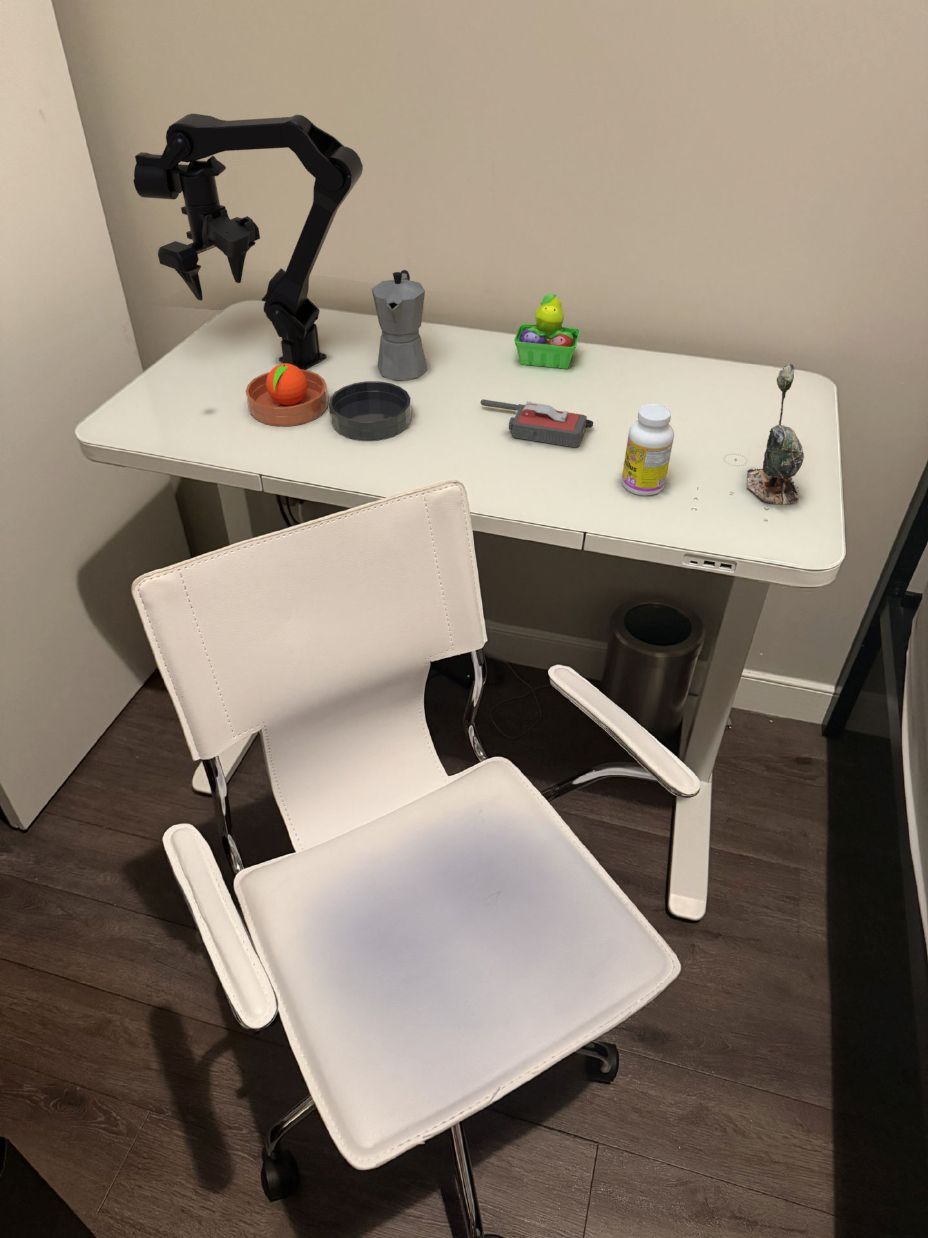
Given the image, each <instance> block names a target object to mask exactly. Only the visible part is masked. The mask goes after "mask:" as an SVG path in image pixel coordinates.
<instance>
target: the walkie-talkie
mask: <svg viewBox="0 0 928 1238" xmlns="http://www.w3.org/2000/svg"><path fill="white" fill-rule="evenodd" d="M479 403H480V405H481V406H484V407H490V408H497V409H502V410H509V411H514V412H515V416H514V417H512V416H511V417H510V418H509V422H508V430H509V431H511V437H512V438H516V439H522V440H528V441H534V442H539V443H546V444H552V445H558V446H563V447H570V448H576V447H580V444H581V442H582V439H583V437H584V436H585V435H584V434H585V433H586V429H591V428H593V427H594V421H593V420H591V419H588V416H587V415H585V414H581V413H574V412H569V411H567V410H565V411H561V410H558V409H556V408H554V407H553V406H551V405H549V404H542V403H537V402H536V403H535V402H532V401H528V400H527V401H526V402H525V404H521V403H519V404H515V403H510V402H509V403H508V402H503V401H496V400H491V399H481V400H480V402H479Z"/></svg>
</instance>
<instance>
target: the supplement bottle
mask: <svg viewBox="0 0 928 1238" xmlns="http://www.w3.org/2000/svg"><path fill="white" fill-rule="evenodd" d="M671 418H672V411H671V409H670V408H668V407H667V406H666V405H663V404H659V403H646V404H644V405H642V406H640V407H639V409H638V412H637V420H636V421H634V422H633V423H631V425H630V427H629V429H628V433H627V434H628V435H627V441H626V450H625V455H624V461H623V468H622V475H621V483H622V485H623V487H624V488H625V490H627V491H629V492H630V493H632V494H635V495H638V496H653V495H657V494H659V493H660V492H662V491H663V490H664V488H665V486H666V481H667V476H668V471H669V466H670V461H671V454H672V449H673V444H674V439H675V431H674V429H673V427H672V425H671V424H670V423H671Z"/></svg>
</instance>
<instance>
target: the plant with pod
mask: <svg viewBox="0 0 928 1238" xmlns="http://www.w3.org/2000/svg"><path fill="white" fill-rule="evenodd" d="M794 379H795V366H794V364H793V363H786V365H784V366H783V367H782V369H781V370H779V372H778V375H777V377H776V385H777V387H778V389H779V390H780V392H781V403H780V404H781V405H780V406H781V407H780V414H779V421H778V424H777V425H775V426H772V427H771V428H770V430H769V435H768V439H767V442H766V445H765V446H766V449H765V452H764V454H763V462H762V468H759V469H758V468H754V469H753V468H750V469H747V470H746V472H747V473H746V475H747V479H746V488H747V489H749V490H751V492H753V494H754V495H755V496H758V497H759V499H760V501H763V502H764V503H767V504H773V505H779V504H780V505H785V504H786V505H792V504H795V502H798V501H799V500H800V495H799V490H798V489H799V486H797V485H796V484H795V481H793V477H795V476H796V475H797V473H798V472H799V471H800V469H801V467H802V466H803V462H804V460H805V454H804V449H803V448H804V447H803V445H802V444H801V443H802V442H801V441H800V440H799V437H798V436H797V433H796V432H795V430H794V429H792V428H791V427H790V426H786V425H782V419H783V413H784V401H785V398H786V394H787V392H788V391H789V390H790V389H791V387H792V384H793V382H794Z"/></svg>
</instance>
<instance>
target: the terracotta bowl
mask: <svg viewBox="0 0 928 1238" xmlns="http://www.w3.org/2000/svg"><path fill="white" fill-rule="evenodd" d="M300 370H301V371H302V372H303V373H304V375H305V377H306V380H307V391H306V394H305V396H304V397H303V398H302V400H301V401H299V402H298V403H296V404H293V405H283V404H280V403H277V402H276V401H275V400H274V399H272V398H271V396H270V395H269V393H268V390H267V387H266V380H267V376H268V374H269V373H270V371H268V372H264V373H262V374H260V375H259V376H257V377H255V378H253V379H252V380H251V381H250V382H249V383H248V384H247V386H246V388H245V396H246V401H247V406H248V410H249V414H250V415H251V416H252V417H253V418H254V419H255V420H256V421H258V422H260V423H262V424H264V425H268V426H273V427H293V426H295V427H296V426H301V425H303V424H307V423H310V422H312V421H314V420H317V419H318V418H319V417H321V416H322V415H323V414H324V413H325V412H326V410H327V408H328V406H329V395H328V386H327V382H326V380H325V378H323V377H322V376H321V375H320V374H319V373H316V372H314V371H311V370H309V369H305V370H302V369H300Z"/></svg>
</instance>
